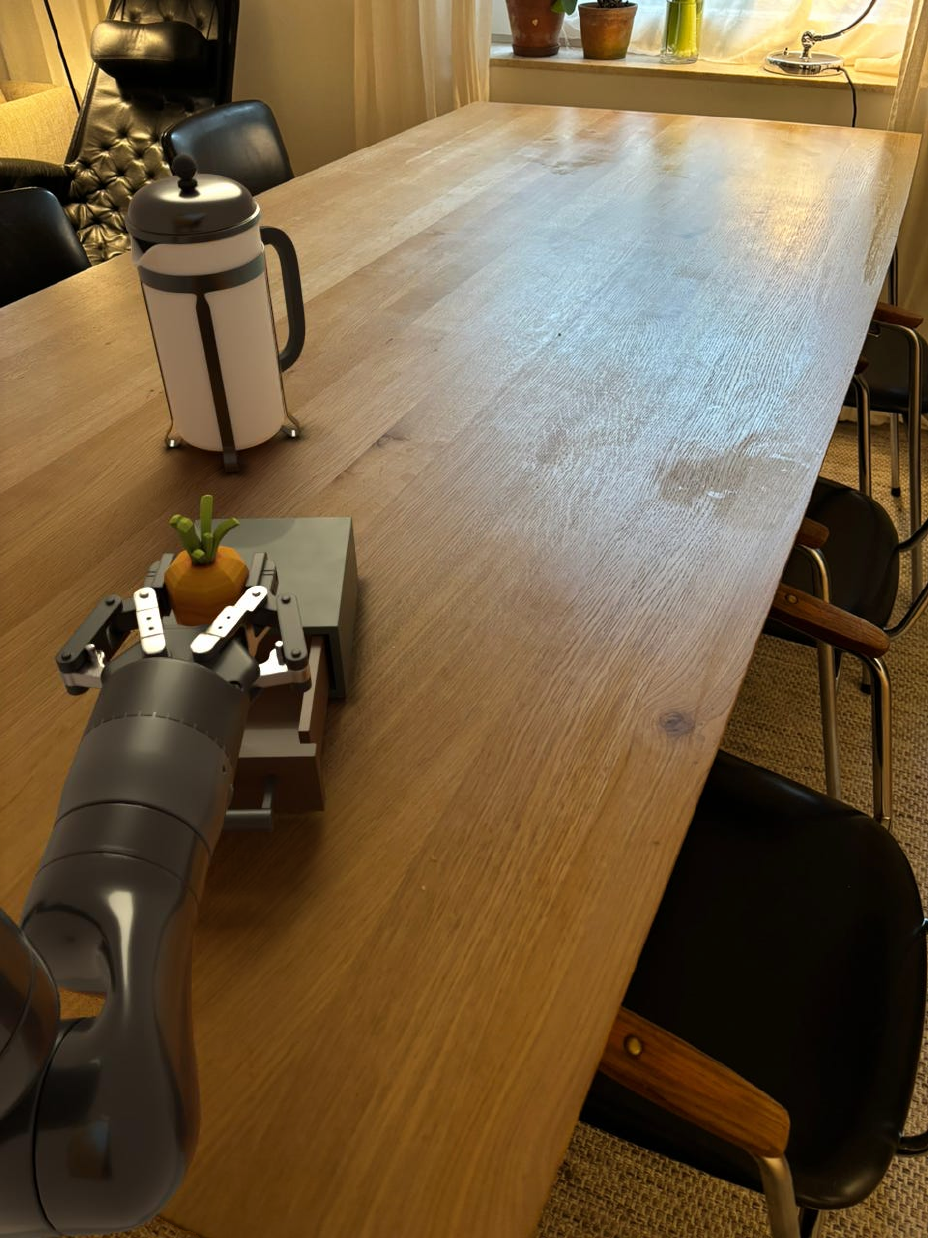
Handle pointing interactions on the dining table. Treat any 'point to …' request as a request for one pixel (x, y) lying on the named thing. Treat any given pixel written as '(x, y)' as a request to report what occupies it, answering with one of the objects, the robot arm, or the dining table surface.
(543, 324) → the dining table surface
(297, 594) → the cabinet
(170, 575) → the carrot
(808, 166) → the dining table surface
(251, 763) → the drawer
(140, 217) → the coffee press
